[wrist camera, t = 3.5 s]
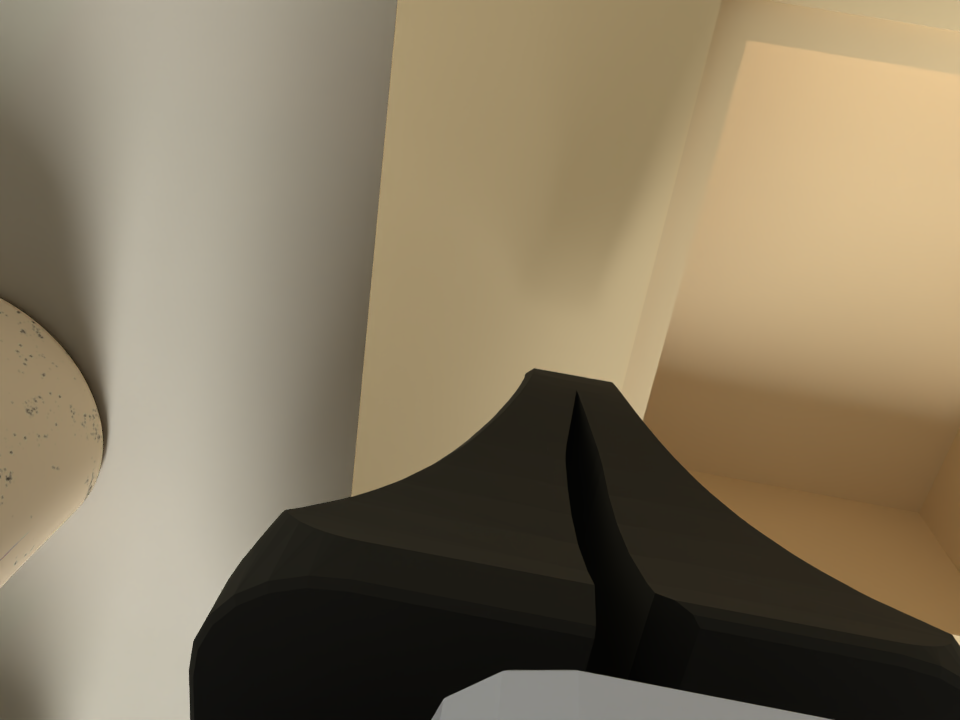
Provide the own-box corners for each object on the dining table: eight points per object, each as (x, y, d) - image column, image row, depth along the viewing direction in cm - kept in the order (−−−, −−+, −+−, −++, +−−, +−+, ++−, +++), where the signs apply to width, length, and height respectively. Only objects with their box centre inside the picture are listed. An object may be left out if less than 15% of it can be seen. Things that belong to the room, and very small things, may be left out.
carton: (862, 657, 24) (988, 943, 17) (380, 564, 24) (299, 802, 17) (1287, -213, 14) (2004, -428, 7) (487, -333, 15) (407, -645, 8)
